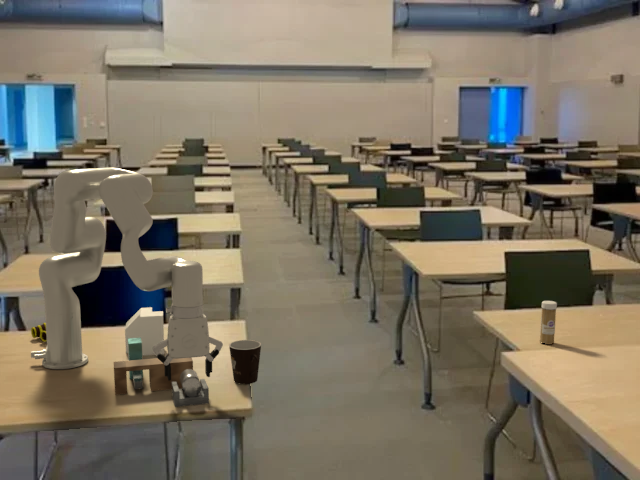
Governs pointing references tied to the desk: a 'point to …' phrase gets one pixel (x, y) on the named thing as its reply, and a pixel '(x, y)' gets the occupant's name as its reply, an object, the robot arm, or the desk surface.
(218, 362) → the desk surface
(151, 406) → the desk surface
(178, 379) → the wooden panel with opening
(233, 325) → the desk surface
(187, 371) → the axle
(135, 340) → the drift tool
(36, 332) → the opera glasses
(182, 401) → the cradle
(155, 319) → the corner bracket
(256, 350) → the dark brown paper cup
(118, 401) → the desk surface
